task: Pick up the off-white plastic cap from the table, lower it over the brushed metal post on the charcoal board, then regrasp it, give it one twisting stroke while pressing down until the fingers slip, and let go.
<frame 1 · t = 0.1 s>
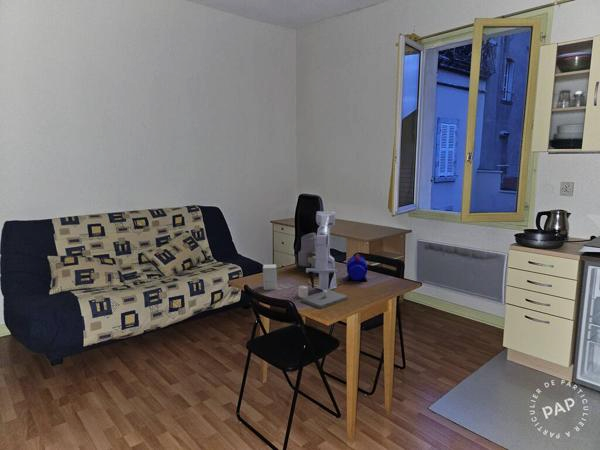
hand: (320, 287, 200), 11 cm above the table, tool pointing down, fingers open, 7 cm apart
supplement box: (270, 288, 234), on the table
juicer: (313, 270, 269), on the table
post board: (324, 300, 214), on the table
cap: (303, 296, 220), on the table
alarm clock: (356, 279, 249), on the table
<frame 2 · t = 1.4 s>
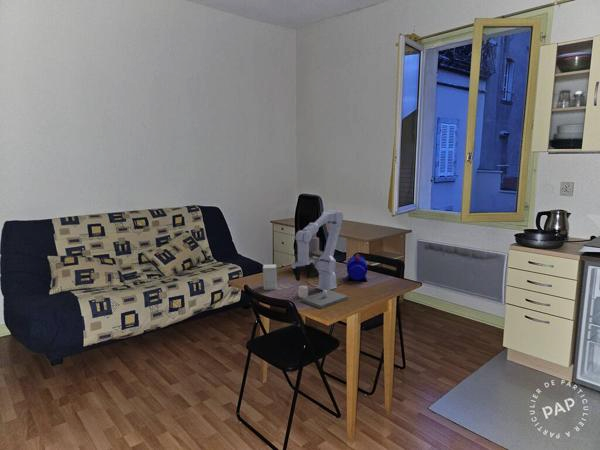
hand: (303, 279, 218), 9 cm above the table, tool pointing down, fingers open, 7 cm apart
nothing on the table moved.
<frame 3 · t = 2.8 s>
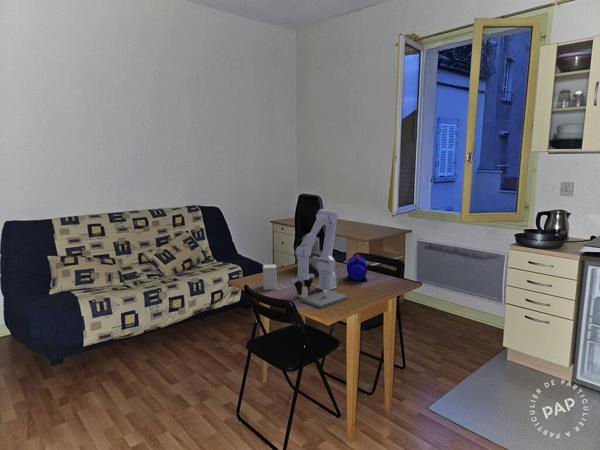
hand: (303, 293, 220), 1 cm above the table, tool pointing down, fingers closed on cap, 5 cm apart
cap: (303, 296, 220), on the table, touching gripper
everything else where it was.
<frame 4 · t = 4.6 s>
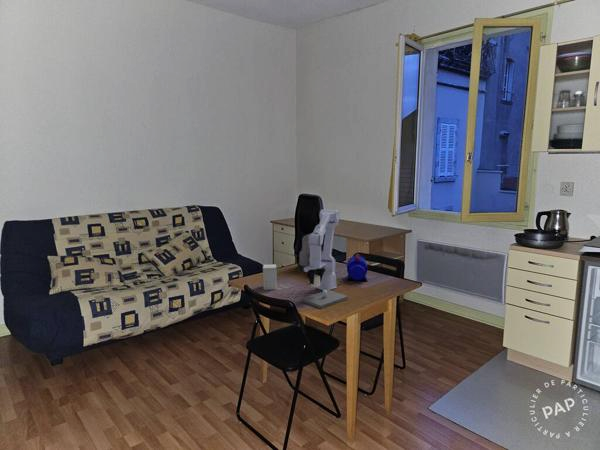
hand: (315, 282, 215), 8 cm above the table, tool pointing down, fingers closed on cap, 5 cm apart
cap: (315, 285, 215), point 7 cm above the table, touching gripper
when the fingers open (4 cm above the table, at t = 6.4 s): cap stays where it is, resting on post board.
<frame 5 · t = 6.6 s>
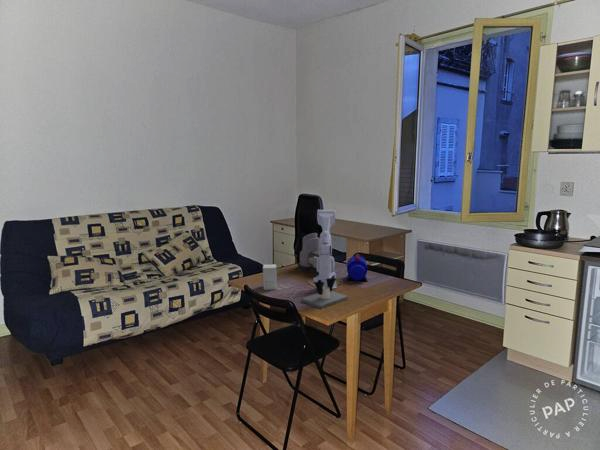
hand: (324, 292, 213), 4 cm above the table, tool pointing down, fingers open, 6 cm apart
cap: (324, 297, 214), point 1 cm above the table, touching post board
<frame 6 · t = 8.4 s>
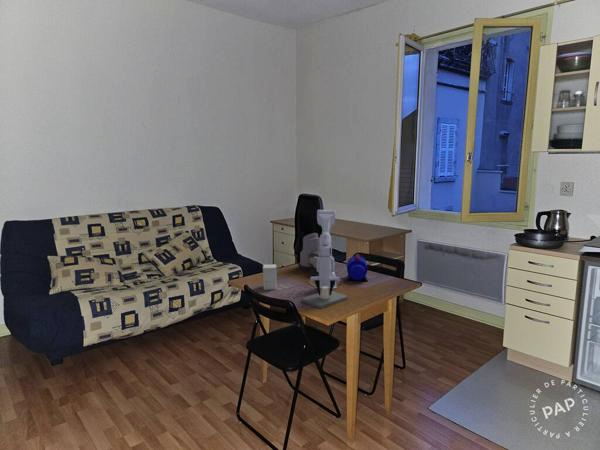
hand: (324, 294, 213), 3 cm above the table, tool pointing down, fingers closed on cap, 5 cm apart
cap: (324, 297, 214), point 2 cm above the table, touching gripper, post board
when the fingers open (3 cm above the table, at t = 10.5 s): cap stays where it is, resting on post board.
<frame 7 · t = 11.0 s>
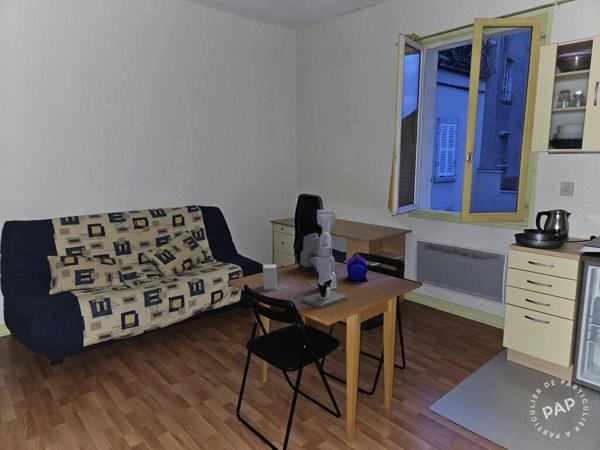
hand: (324, 294, 213), 3 cm above the table, tool pointing down, fingers open, 7 cm apart
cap: (324, 297, 214), point 1 cm above the table, touching post board
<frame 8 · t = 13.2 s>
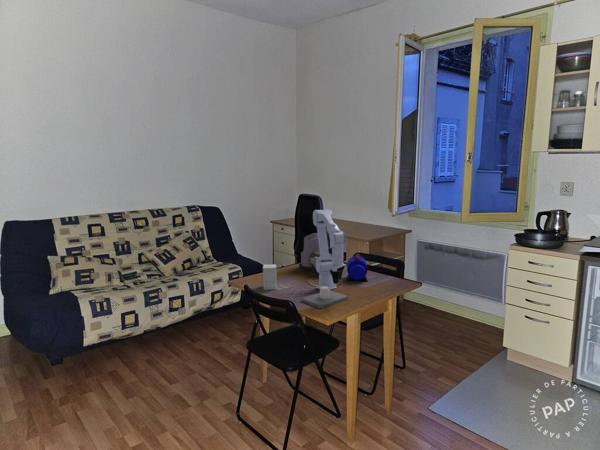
hand: (337, 281, 214), 9 cm above the table, tool pointing down, fingers open, 7 cm apart
at the end: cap 0.1 cm off-centre on the post board, point 1.5 cm above the post board's base; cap tilted 0°; the gripper is holding nothing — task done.
